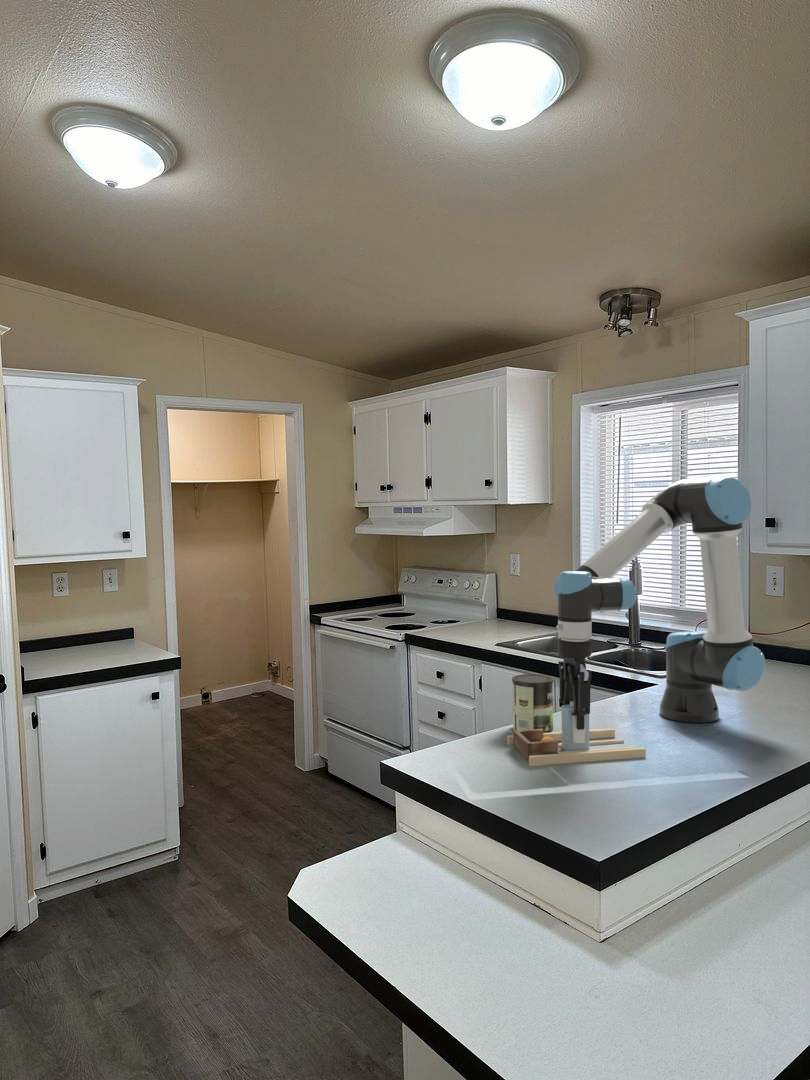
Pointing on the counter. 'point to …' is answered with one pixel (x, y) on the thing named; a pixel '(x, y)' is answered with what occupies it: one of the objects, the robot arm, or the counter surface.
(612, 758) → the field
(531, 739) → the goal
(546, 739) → the ball
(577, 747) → the block
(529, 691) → the coffee can
